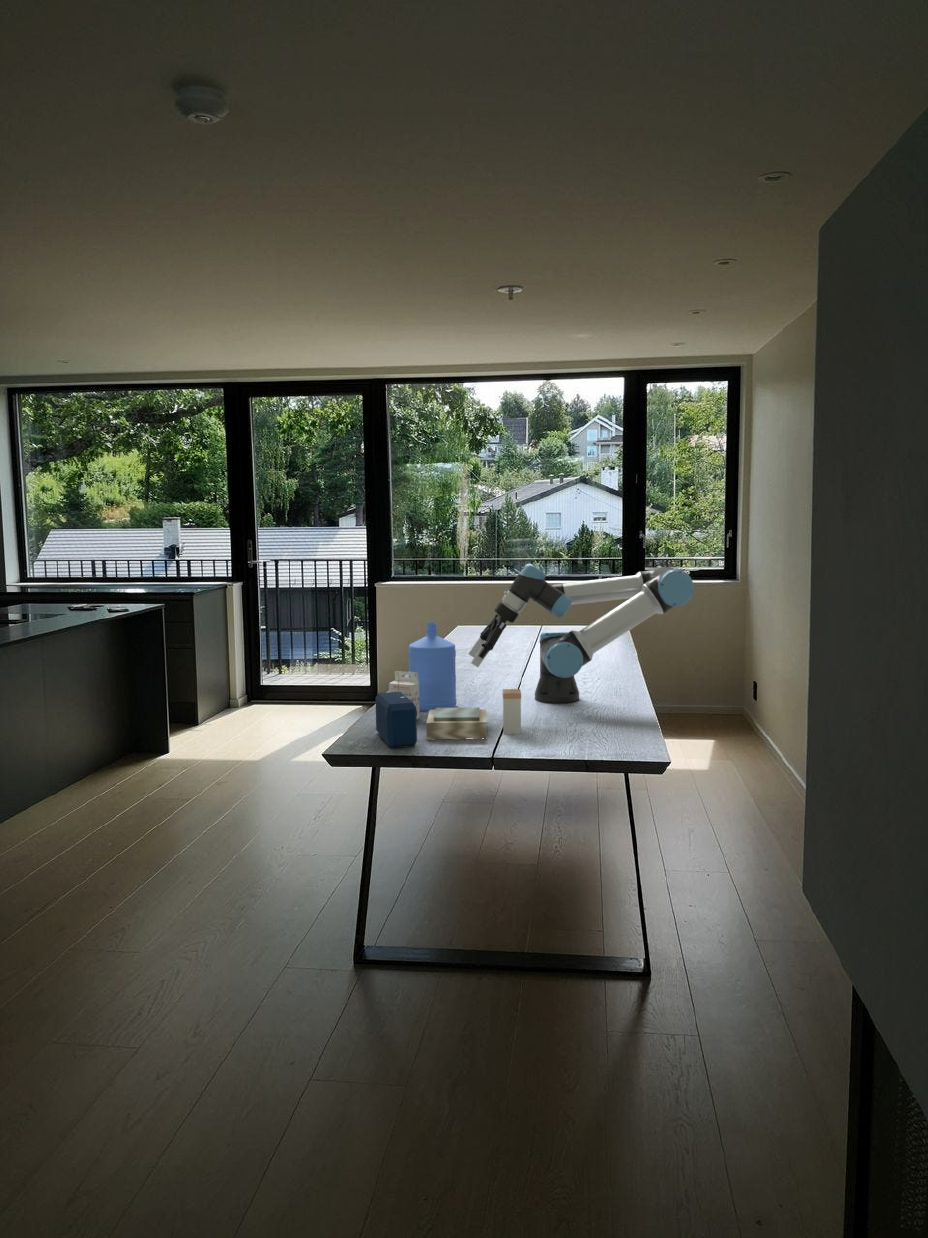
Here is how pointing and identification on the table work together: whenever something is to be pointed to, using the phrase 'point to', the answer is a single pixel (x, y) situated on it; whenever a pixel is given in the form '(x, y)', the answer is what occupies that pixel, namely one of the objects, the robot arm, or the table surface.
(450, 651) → the water jug
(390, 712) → the radio
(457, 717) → the birch tray
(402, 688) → the ink cartridge box
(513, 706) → the plate
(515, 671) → the table surface
